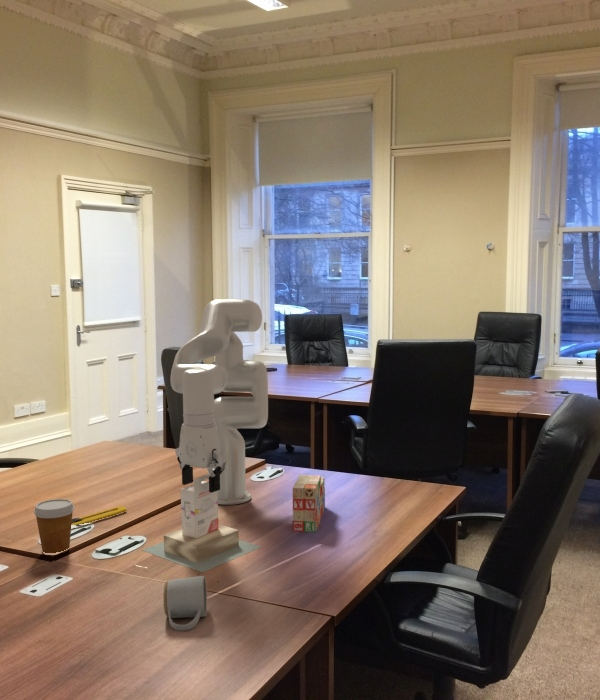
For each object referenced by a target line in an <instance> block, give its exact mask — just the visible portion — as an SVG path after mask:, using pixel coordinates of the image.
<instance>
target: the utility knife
mask: <svg viewBox="0 0 600 700" xmlns="http://www.w3.org/2000/svg"><path fill="white" fill-rule="evenodd" d="M125 511H128V510H127V508H126V506H115V507H113V508H109V509H104V510H101V511H98V512H95V513H92V514H88V515H87V514H86V515H85V516H80V517H75V518H74V517H72V525H78V524H84V523H89V522H92V521H95V520H99V519H102V518H106V517H110V516H113V515H116V514H119V513H121V512H125Z"/></svg>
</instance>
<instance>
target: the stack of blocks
mask: <svg viewBox="0 0 600 700" xmlns="http://www.w3.org/2000/svg"><path fill="white" fill-rule="evenodd" d="M325 508H326V486H325V477H324V476H321V475H319V474H316V475H314V474H299V476H298V477H297V479H296V481H295V482H294V484H293V486H292V532H299V533H300V532H303V533H305V532H306V533H317V529H318V528H319V525H320V523H321V520H322V515H323V514H324V511H325Z"/></svg>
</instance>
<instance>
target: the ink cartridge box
mask: <svg viewBox="0 0 600 700" xmlns="http://www.w3.org/2000/svg"><path fill="white" fill-rule="evenodd" d="M209 476H211V475H210V473H208V474H207V473H206V475H205V474H204V475H202V476H200V477H197V478H193V482H192V483H193V484H191V485H189V486H186V487H183V488H180V508H181V509H180V510H181V512H180V513H181V529H182V535H185V536H189V537H192V538H198V537H201V536H203V535H205V534H207V533H210V532H212V531H214V530H216V529H218V528H219V525H218V524H219V504H218V491H215V492H212V493H211V492H209ZM205 480H206V481H205ZM207 480H208V481H207Z"/></svg>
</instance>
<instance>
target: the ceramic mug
mask: <svg viewBox="0 0 600 700" xmlns="http://www.w3.org/2000/svg"><path fill="white" fill-rule="evenodd" d="M207 593H208V592H207V582H206V577H205V575H198V576H192V577H191V576H190V577H183V578H175V579H170V580H166V582H165V583H164V585H163V610H164V611H163V612H164V615H165V616H166V617H167V618H168V622H169V624H170V626H171V628H173V629H174V630H176V629H177V630H176V631H179V630H186V631H189V630H191V629H193V628H194V627H195V626H196V625H197V624H198V622H199V620H200V618H205V617H206V616H207V613H208V612H207V611H208V607H207V606H208V599H207V598H208V597H207V596H208V595H207ZM180 618H181V619H182V618H193V619H192V620H191V621H189V622H188V623H186V624H178V623H176V622H174V621H173V619H180Z"/></svg>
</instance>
